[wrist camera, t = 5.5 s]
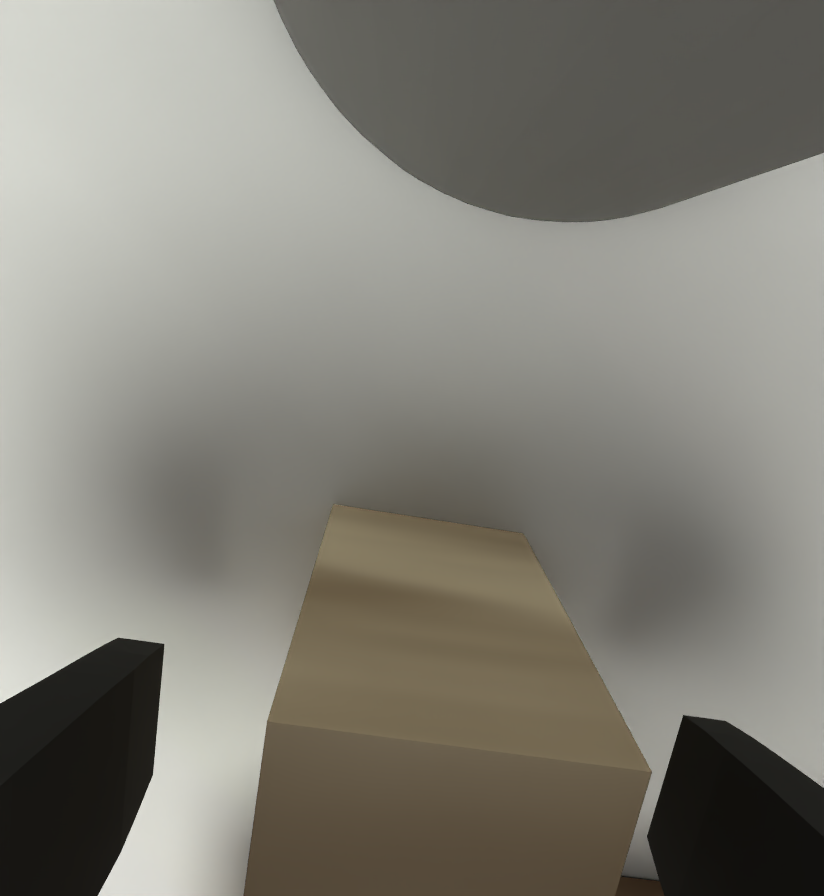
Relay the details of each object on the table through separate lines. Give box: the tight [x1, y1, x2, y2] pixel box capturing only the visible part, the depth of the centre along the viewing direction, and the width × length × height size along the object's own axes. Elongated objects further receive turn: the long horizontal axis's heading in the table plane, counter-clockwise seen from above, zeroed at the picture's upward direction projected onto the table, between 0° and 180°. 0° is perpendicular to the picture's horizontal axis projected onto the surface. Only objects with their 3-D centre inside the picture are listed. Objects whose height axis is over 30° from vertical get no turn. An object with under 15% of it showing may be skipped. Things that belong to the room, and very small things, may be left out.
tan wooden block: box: [244, 504, 652, 896], centre depth 9 cm, size 4×4×6 cm
